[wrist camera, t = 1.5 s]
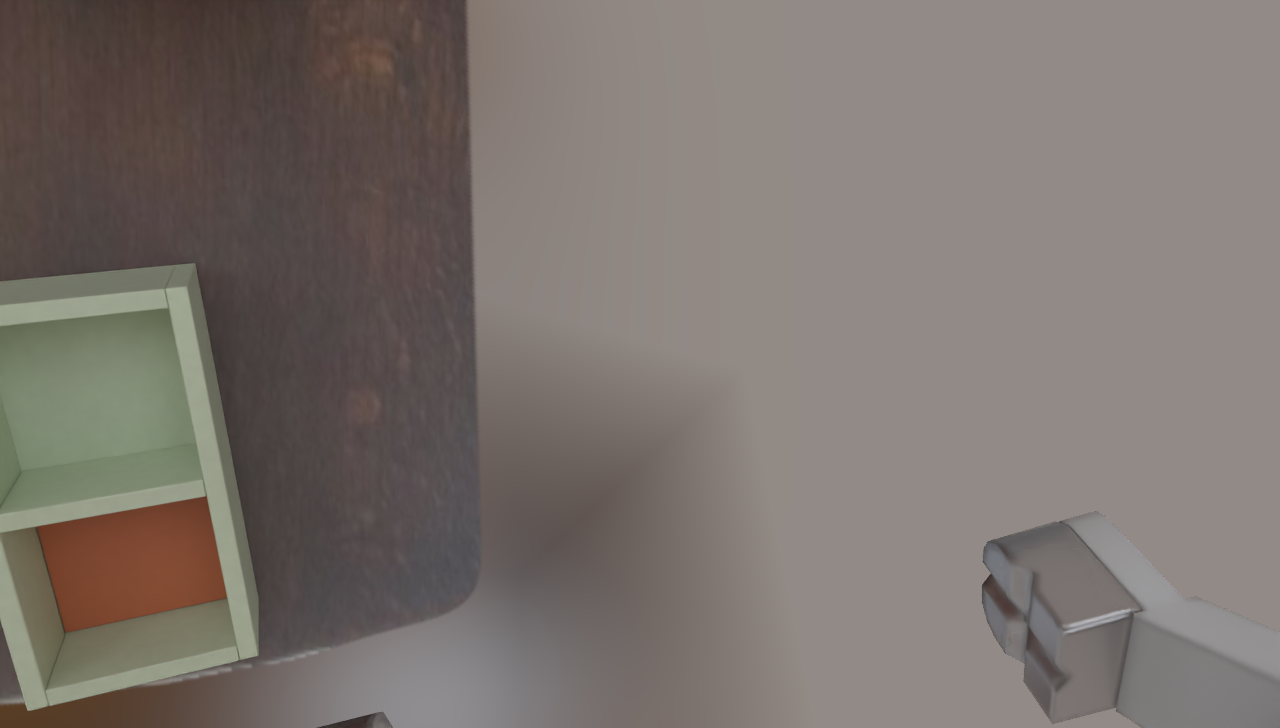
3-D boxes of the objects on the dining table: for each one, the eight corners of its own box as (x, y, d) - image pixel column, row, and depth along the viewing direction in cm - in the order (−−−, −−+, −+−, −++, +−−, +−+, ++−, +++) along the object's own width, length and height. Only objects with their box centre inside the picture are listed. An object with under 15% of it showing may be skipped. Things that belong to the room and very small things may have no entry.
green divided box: (51, 644, 42) (27, 712, 37) (-49, 285, 36) (-92, 314, 32) (258, 599, 45) (258, 656, 40) (195, 262, 39) (187, 286, 35)
